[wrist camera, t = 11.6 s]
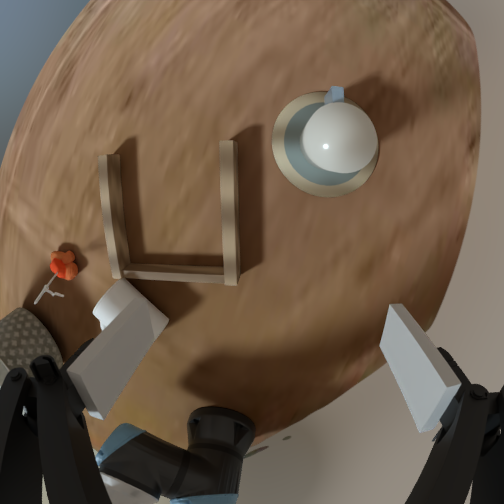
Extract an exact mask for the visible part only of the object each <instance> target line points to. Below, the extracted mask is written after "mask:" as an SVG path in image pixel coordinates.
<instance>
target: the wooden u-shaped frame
mask: <svg viewBox="0 0 504 504" xmlns="http://www.w3.org/2000/svg"><path fill="white" fill-rule="evenodd" d="M219 149H220V189H221V218H222V241H223V261H224V267H221V266H190V265H163V264H138V263H131V262H130V256H129V249H128V242H127V235H126V227H125V218H124V209H123V198H122V186H121V170H120V154H109V155H102V156H98V168H99V184H100V196H101V206H102V215H103V223H104V230H105V237H106V244H107V250H108V255H109V261H110V266H111V271H112V276H113V278H115V279H122V278H134V279H149V280H165V281H182V282H202V283H225V285H233V286H237V284H238V281H239V278H240V275H241V273H240V238H239V197H238V143H237V142H236V141H233V140H227V141H219Z"/></svg>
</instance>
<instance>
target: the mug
mask: <svg viewBox="0 0 504 504" xmlns="http://www.w3.org/2000/svg"><path fill="white" fill-rule="evenodd" d="M134 298H143V299H146V298H145V297H144V296H143V295H142V294H141V293H140V292H139V291H138V290H137V289H136V288H135V287H134V286H133V285H132V284H130V283H129V282H128V281H127V280H126V279H125V278H122V279H119V280H118V281H117V282H116V283H115V284H113V285H112V286H111V287H110V288H109V290H108V291H107V292H106V293H105V294H104V295H103V296H102V298H101V299H100V300H99V302H98V303H97V304H96V306H95V308H94V310H93V315H94V316H95V317H96V318H97V319H99V320H100V326H101V329H102V331H103V330H104V329H105V328H106V327H107V326H108V325H109V324H110V323H111V322H112V321H113V320H114V318H115V317H116V316H117V315H118V314H119V313H120V312H121V311H122V310H123V309H124V308H125V307H126V306H127V305H128V304H129V303H130V302H131V301H132V300H133V299H134ZM147 303H148V309H149V314H150V319H151V324H152V328H153V333H154V338H155V340H156V339H157V337H158V336H159V335H160V334H161V332H162V331H163V330H164V328H165V327H166V325H167V324H168V322H169V319H168V318H167V317H166V316H165V315H164V314H163V313H162V312H161V311H160V310H158V309H157V308H156V307H155V306H154V305H153V304H152V303H151V302H150V301H148V300H147Z"/></svg>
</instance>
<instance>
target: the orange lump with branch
mask: <svg viewBox="0 0 504 504" xmlns="http://www.w3.org/2000/svg"><path fill="white" fill-rule="evenodd" d="M51 260H52V262H51V264H50V269H51V270H52V271H53V272H54V273H55V275H54V276H53V278H52V279H51V280H50V281H49V283H48V284H47V285H45V286H44V288H43V290H42V292H41V293H40V294H39V296H38V297H37V298H36V300H35V302H34V304H36V303H37V302H38V301H39V299H40V298H41V297H42V295H43V294H44V292H48V293H50V294H51V295H52V296H54V295H57V296H60V297H64V295H63V294H60V293H57V292H55V293H53V292H52V291H50V290H48V289H49V287H48V286H49V285H50V283H51V282H52V281H53V279H54V278H55V277H56V275H57V276H58V277H59V278H65V279H66V280H72V279H73V278H74V277H75V276H77V274H78V267H77V265H76V264H75V263H73V261H74V260H75V256H74V253H73V252H71V251H68V252H66V253H64V252H61V251H54V252H52V254H51Z"/></svg>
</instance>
